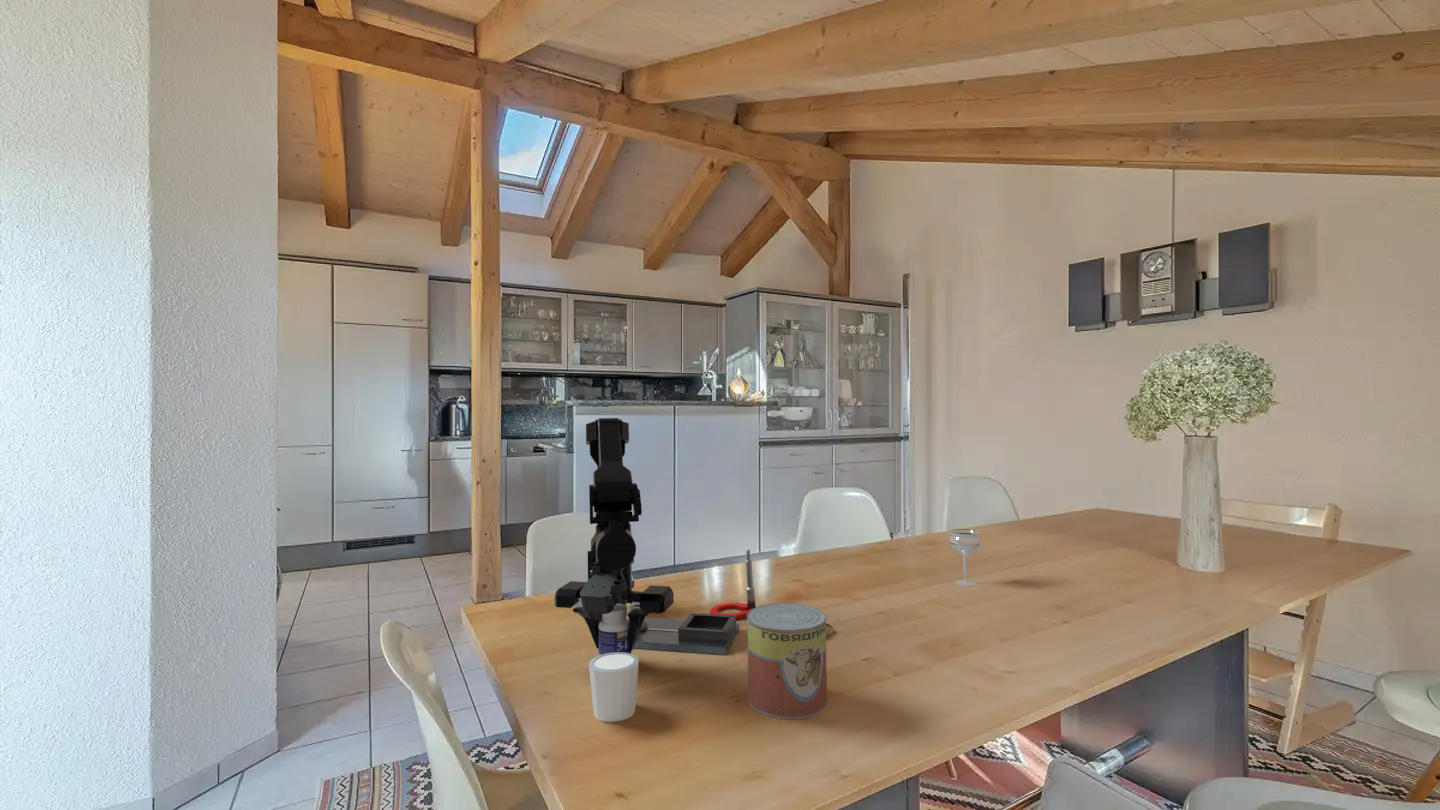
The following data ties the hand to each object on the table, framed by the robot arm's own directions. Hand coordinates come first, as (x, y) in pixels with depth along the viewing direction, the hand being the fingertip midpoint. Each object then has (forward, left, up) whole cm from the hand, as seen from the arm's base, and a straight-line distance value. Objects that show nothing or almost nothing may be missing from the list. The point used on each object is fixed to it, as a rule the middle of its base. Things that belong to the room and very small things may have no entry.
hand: (615, 649), depth 102 cm
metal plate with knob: (+6, +13, -2) cm, 14 cm away
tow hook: (+14, +28, -3) cm, 31 cm away
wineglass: (+63, +58, -3) cm, 86 cm away
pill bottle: (0, 0, -2) cm, 2 cm away
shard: (+29, +22, -3) cm, 36 cm away
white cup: (+6, -15, -3) cm, 16 cm away
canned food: (+29, -7, -3) cm, 30 cm away
